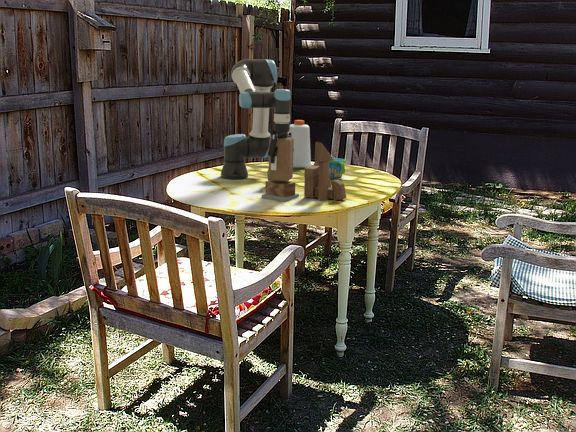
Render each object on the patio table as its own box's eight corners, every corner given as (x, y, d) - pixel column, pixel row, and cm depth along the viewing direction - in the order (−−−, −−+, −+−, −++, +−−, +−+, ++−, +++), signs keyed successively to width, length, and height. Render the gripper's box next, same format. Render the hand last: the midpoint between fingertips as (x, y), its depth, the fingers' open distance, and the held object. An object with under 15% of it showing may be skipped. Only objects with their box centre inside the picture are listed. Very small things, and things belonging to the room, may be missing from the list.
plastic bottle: (311, 168, 404) (312, 122, 398) (286, 167, 404) (287, 121, 397) (309, 164, 419) (311, 119, 412) (285, 163, 419) (286, 118, 412)
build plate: (261, 197, 321) (261, 194, 321) (276, 193, 332) (276, 190, 331) (284, 201, 314) (284, 198, 314) (298, 196, 325) (298, 193, 325)
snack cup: (350, 179, 373) (350, 161, 371) (333, 180, 369) (333, 162, 367) (337, 174, 387) (338, 156, 385) (320, 175, 383) (321, 157, 381)
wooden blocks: (339, 204, 311) (341, 144, 305) (299, 199, 319) (301, 141, 312) (355, 194, 333) (358, 138, 326) (317, 190, 341) (319, 135, 334)
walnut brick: (265, 193, 323) (265, 181, 322) (276, 191, 329) (276, 179, 328) (284, 197, 316) (284, 184, 315) (295, 194, 322) (295, 182, 321)
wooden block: (288, 181, 315) (289, 139, 310) (268, 180, 317) (268, 138, 312) (293, 178, 325) (294, 137, 320) (273, 176, 327) (273, 135, 322)
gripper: (274, 125, 303) (273, 172, 308) (302, 121, 322) (300, 165, 328) (260, 124, 307) (260, 170, 312) (288, 120, 326) (287, 164, 331)
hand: (280, 168), depth 320 cm, fingers closed on wooden block, 12 cm apart
